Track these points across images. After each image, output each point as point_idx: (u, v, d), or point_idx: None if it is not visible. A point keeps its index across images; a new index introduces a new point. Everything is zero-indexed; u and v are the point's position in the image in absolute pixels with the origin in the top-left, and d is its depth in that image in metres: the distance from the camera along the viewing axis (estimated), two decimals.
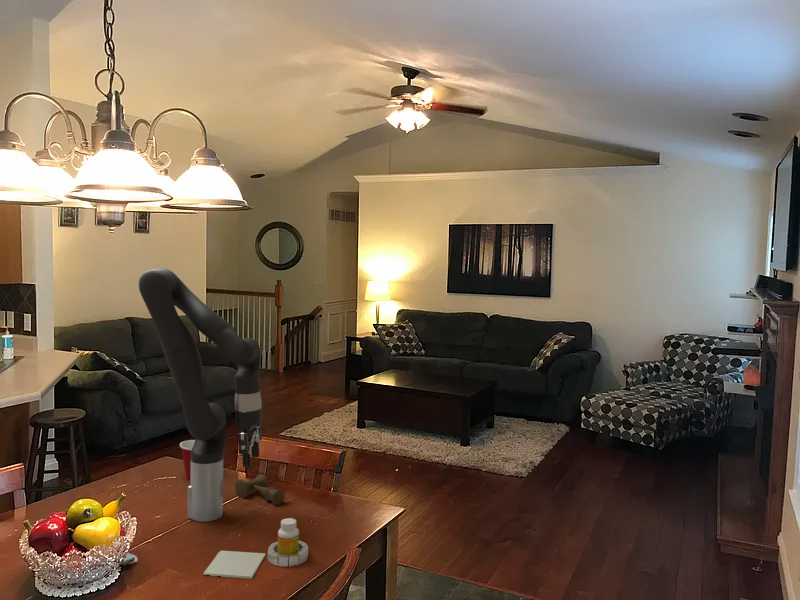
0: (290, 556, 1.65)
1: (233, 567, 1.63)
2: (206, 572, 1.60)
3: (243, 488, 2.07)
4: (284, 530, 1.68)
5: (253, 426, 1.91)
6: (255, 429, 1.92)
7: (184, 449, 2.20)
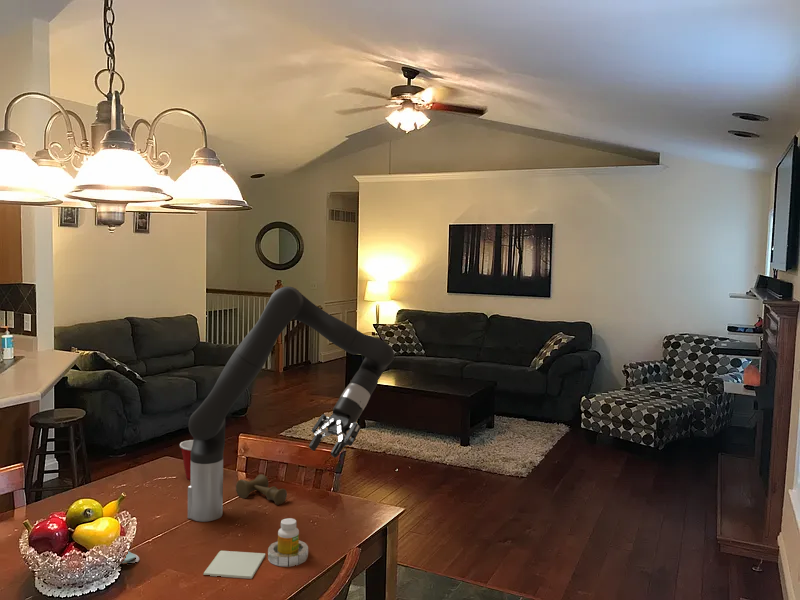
0: (290, 556, 1.65)
1: (233, 567, 1.63)
2: (206, 572, 1.60)
3: (244, 488, 2.07)
4: (284, 530, 1.68)
5: None
6: None
7: (184, 449, 2.20)
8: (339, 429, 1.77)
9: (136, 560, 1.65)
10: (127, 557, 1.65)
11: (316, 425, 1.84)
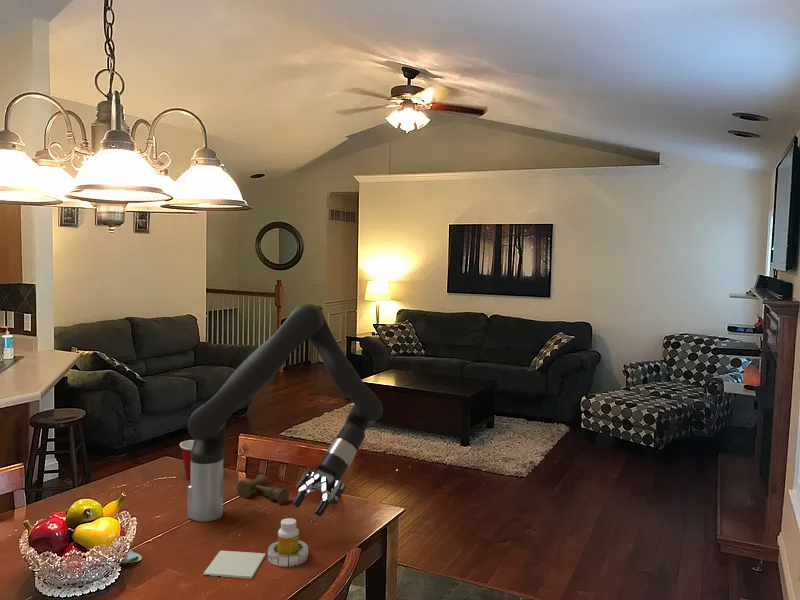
0: (290, 556, 1.65)
1: (233, 567, 1.63)
2: (206, 572, 1.60)
3: (246, 488, 2.07)
4: (284, 530, 1.68)
5: None
6: None
7: (184, 449, 2.20)
8: (324, 487, 1.74)
9: (138, 559, 1.65)
10: (129, 556, 1.66)
11: (301, 480, 1.80)
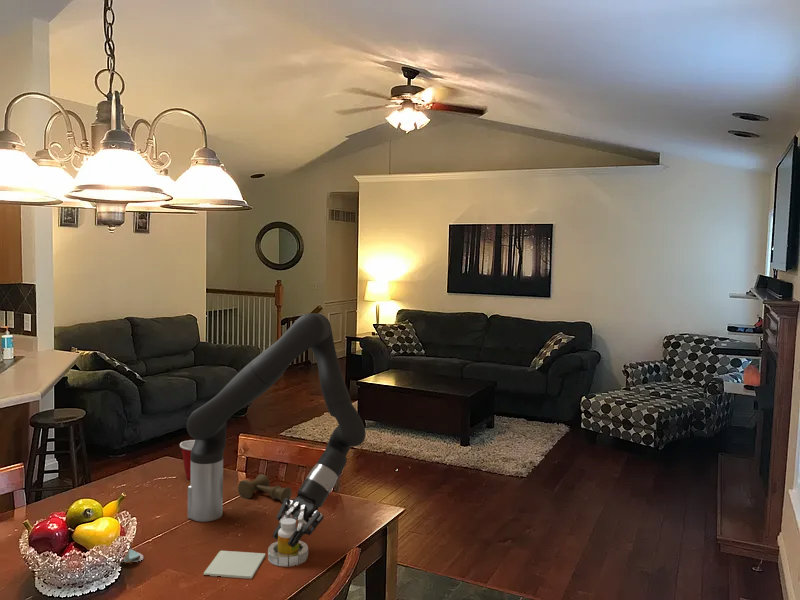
0: (290, 556, 1.65)
1: (233, 567, 1.63)
2: (206, 572, 1.60)
3: (248, 488, 2.07)
4: (284, 530, 1.68)
5: None
6: None
7: (184, 449, 2.20)
8: (301, 516, 1.69)
9: (140, 559, 1.65)
10: (131, 556, 1.66)
11: (280, 511, 1.74)
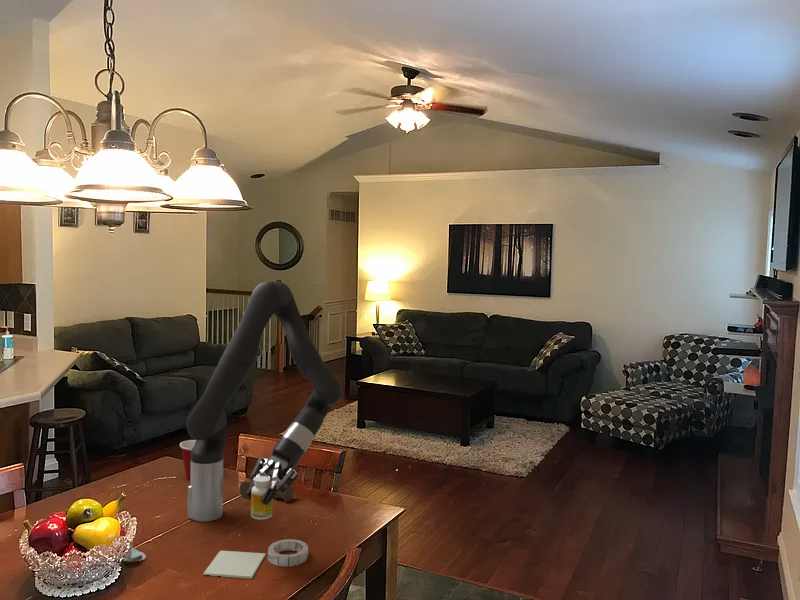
0: (290, 556, 1.65)
1: (233, 567, 1.63)
2: (206, 572, 1.60)
3: None
4: (258, 487, 1.65)
5: None
6: None
7: (184, 449, 2.20)
8: (275, 473, 1.66)
9: (142, 558, 1.66)
10: (134, 555, 1.67)
11: (255, 469, 1.71)
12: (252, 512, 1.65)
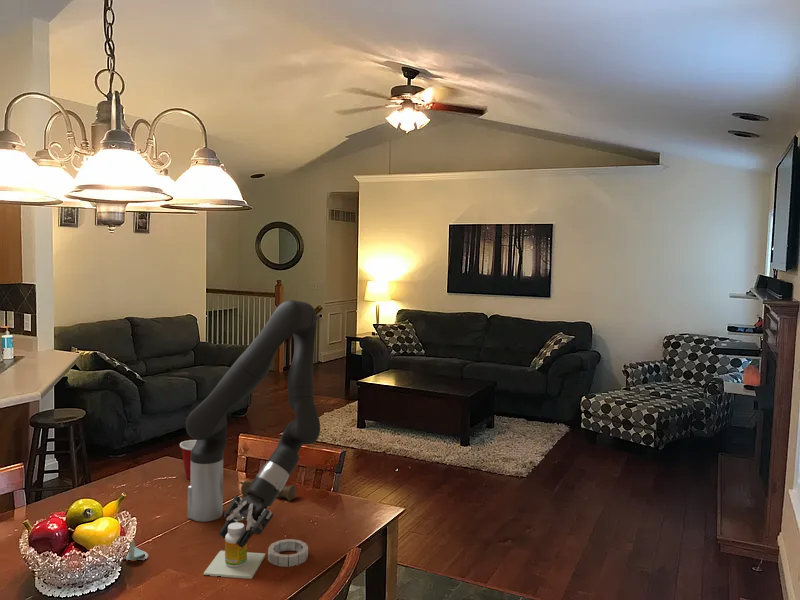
0: (290, 556, 1.65)
1: (233, 567, 1.63)
2: (206, 572, 1.60)
3: None
4: (231, 535, 1.63)
5: None
6: None
7: (184, 449, 2.20)
8: (249, 515, 1.64)
9: (145, 557, 1.66)
10: (136, 554, 1.67)
11: (229, 508, 1.69)
12: (226, 560, 1.63)
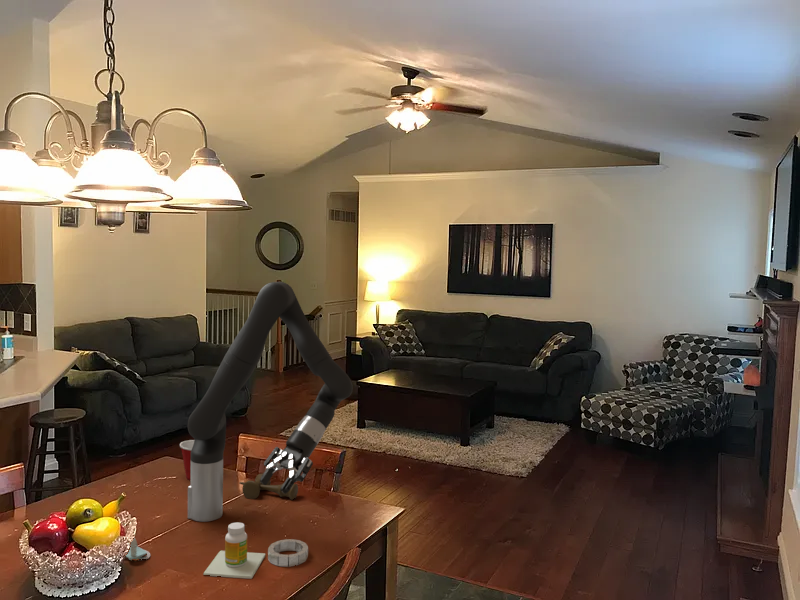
0: (290, 556, 1.65)
1: (233, 567, 1.63)
2: (206, 572, 1.60)
3: (255, 488, 2.07)
4: (231, 535, 1.63)
5: None
6: None
7: (184, 449, 2.20)
8: (291, 464, 1.73)
9: (147, 556, 1.67)
10: (138, 553, 1.68)
11: (269, 458, 1.79)
12: (226, 560, 1.63)
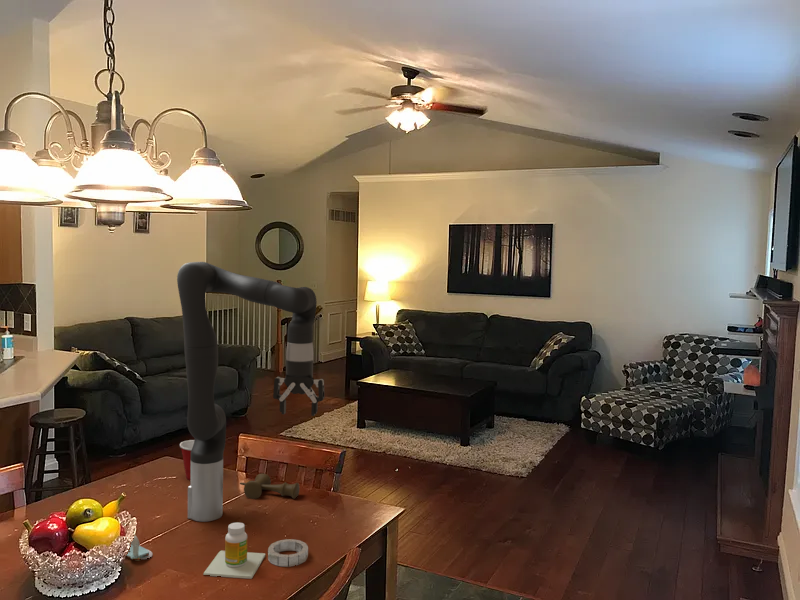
0: (290, 556, 1.65)
1: (233, 567, 1.63)
2: (206, 572, 1.60)
3: (256, 488, 2.07)
4: (231, 535, 1.63)
5: None
6: None
7: (184, 449, 2.20)
8: (307, 392, 1.83)
9: (149, 555, 1.67)
10: (140, 552, 1.68)
11: (275, 391, 1.84)
12: (226, 560, 1.63)
